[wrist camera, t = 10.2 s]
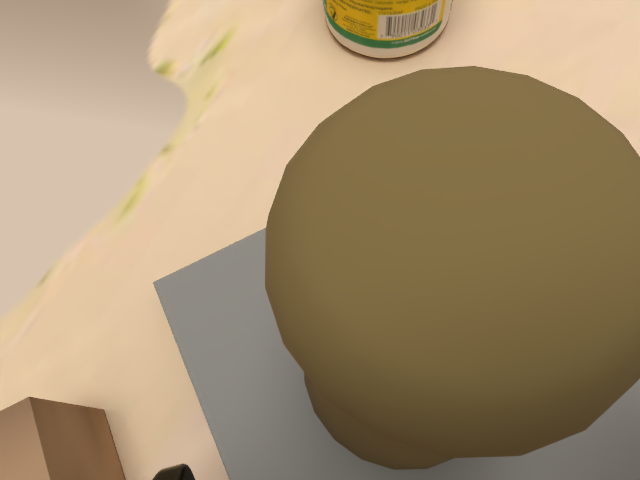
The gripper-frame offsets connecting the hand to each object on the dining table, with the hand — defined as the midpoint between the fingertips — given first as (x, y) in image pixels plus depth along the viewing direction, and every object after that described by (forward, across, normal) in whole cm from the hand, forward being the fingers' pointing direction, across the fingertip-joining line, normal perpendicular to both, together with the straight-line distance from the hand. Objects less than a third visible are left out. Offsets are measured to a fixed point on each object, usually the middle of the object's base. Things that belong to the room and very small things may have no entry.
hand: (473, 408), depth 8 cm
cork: (+7, 0, +4) cm, 8 cm away
